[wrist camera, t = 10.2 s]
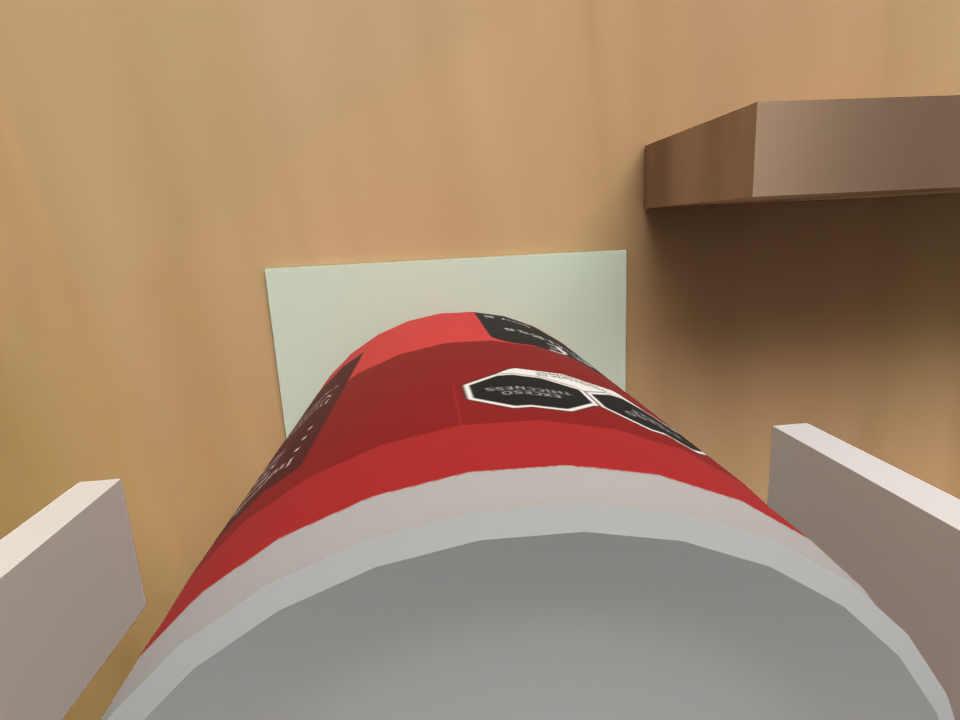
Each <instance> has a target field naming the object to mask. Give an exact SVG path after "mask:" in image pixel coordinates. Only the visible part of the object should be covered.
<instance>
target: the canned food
mask: <svg viewBox="0 0 960 720" xmlns="http://www.w3.org/2000/svg"><path fill="white" fill-rule="evenodd" d="M101 720H955V718H954V715H953V712H952V709H951V705H950V702H949V699H948V696H947V694H946V692H945V691H944V689H943V688H942V686H941V685H940V683H939V681H938V680H937V678H936V677H935V675H934V674H933V672H932V671H931V669H930V668H929V666H928V665H927V663H926V661H925V660H924V658H923V657H922V655H921V654H920V652H919V651H918V649H917V648H916V646H915V644H914V643H913V641H912V640H911V638H910V637H909V635H908V634H907V633H906V632H905V631H904V630H902V629H901V628H900V627H899V626H898V625H897V624H896V623H895V622H894V621H893V620H891V619H890V618H889V617H888V616H887V615H886V614H885V613H884V612H883V611H882V610H881V609H879V608H878V607H877V606H876V605H875V604H874V603H873V601H872V600H871V598H870V597H869V595H868V594H867V593H866V591H865V590H864V588H863V587H862V586H860V585H859V584H858V583H857V582H856V581H855V580H854V579H853V578H852V577H851V576H849V575H848V574H847V573H846V572H845V571H844V570H843V569H842V568H841V567H840V566H839V565H837V564H836V563H835V562H834V561H833V560H832V559H831V558H830V557H829V556H828V555H827V554H825V553H824V552H823V551H822V550H821V549H820V548H819V547H818V546H817V545H816V544H815V543H813V542H812V541H811V540H810V539H809V538H808V537H806V536H805V535H804V534H803V533H801V532H800V531H799V530H798V529H796V528H795V527H794V526H793V525H791V524H790V523H789V522H788V521H786V520H785V519H784V518H783V517H781V516H780V515H779V514H778V513H776V512H775V511H774V510H772V509H771V508H770V507H769V506H768V505H766V504H765V503H764V502H763V501H762V500H761V499H760V498H759V497H758V496H757V495H755V494H754V493H753V492H752V491H751V490H750V489H749V488H748V487H747V486H746V485H745V484H743V483H742V482H741V481H739V480H738V479H737V478H736V477H734V476H733V475H732V474H730V473H729V472H728V471H726V470H725V469H724V468H723V467H721V466H720V465H719V464H717V463H716V462H715V461H714V460H712V459H711V458H710V457H708V456H707V455H706V454H705V453H703V452H702V451H701V450H699V449H698V448H697V447H696V446H694V445H693V444H692V443H690V442H689V441H688V440H687V439H685V438H684V437H683V436H681V435H680V434H679V433H678V432H676V431H675V430H674V429H672V428H671V427H670V426H669V425H667V424H666V423H665V422H663V421H662V420H661V419H659V418H658V417H657V416H656V415H654V414H653V413H652V412H650V411H649V410H648V409H647V408H645V407H644V406H643V405H641V404H640V403H639V402H638V401H636V400H635V399H634V398H632V397H631V396H630V395H629V394H627V393H626V392H625V391H623V390H622V389H621V388H620V387H618V386H617V385H616V384H614V383H613V382H612V381H611V380H609V379H608V378H607V377H605V376H604V375H603V374H601V373H600V372H599V371H598V370H596V369H595V368H594V367H592V366H591V365H590V364H589V363H587V362H586V361H585V360H583V359H582V358H581V357H580V356H578V355H577V354H576V353H574V352H573V351H572V350H571V349H569V348H568V347H567V346H565V345H564V344H563V343H562V342H560V341H558V340H557V339H555V338H553V337H552V336H550V335H548V334H546V333H545V332H543V331H541V330H540V329H538V328H536V327H534V326H532V325H529V324H526V323H523V322H520V321H517V320H514V319H511V318H508V317H505V316H499V315H492V314H485V313H478V312H459V313H440V314H436V315H431V316H427V317H423V318H419V319H415V320H411V321H407V322H405V323H403V324H400V325H398V326H396V327H394V328H392V329H389V330H387V331H385V332H383V333H380V334H378V335H377V336H375V337H374V338H373V339H371V340H370V341H368V342H367V343H365V344H364V345H363V346H361V347H360V348H358V349H357V350H355V351H354V352H353V353H351V354H350V355H349V357H348V358H347V359H346V360H345V361H344V362H343V363H342V364H341V365H340V366H339V367H338V368H337V369H336V370H335V371H334V372H333V373H332V374H331V375H330V377H329V378H328V380H327V381H326V382H325V384H324V385H323V387H322V388H321V390H320V391H319V393H318V394H317V395H316V397H315V398H314V400H313V401H312V403H311V404H310V406H309V407H308V408H307V410H306V411H305V413H304V414H303V416H302V417H301V418H300V420H299V421H298V423H297V424H296V426H295V427H294V429H293V430H292V431H291V433H290V434H289V436H288V437H287V439H286V440H285V441H284V443H283V444H282V446H281V447H280V449H279V450H278V452H277V453H276V454H275V456H274V457H273V459H272V460H271V462H270V463H269V465H268V466H267V467H266V469H265V470H264V472H263V473H262V475H261V476H260V477H259V479H258V480H257V482H256V483H255V485H254V486H253V488H252V489H251V490H250V492H249V493H248V495H247V496H246V498H245V499H244V501H243V502H242V503H241V505H240V506H239V508H238V509H237V511H236V512H235V513H234V515H233V516H232V518H231V519H230V521H229V522H228V524H227V525H226V526H225V528H224V529H223V531H222V532H221V534H220V535H219V537H218V538H217V539H216V541H215V542H214V544H213V545H212V547H211V548H210V549H209V551H208V552H207V554H206V555H205V557H204V558H203V560H202V561H201V562H200V564H199V565H198V567H197V568H196V570H195V571H194V573H193V574H192V575H191V577H190V578H189V580H188V582H187V583H186V585H185V587H184V588H183V590H182V591H181V593H180V595H179V596H178V598H177V600H176V601H175V603H174V604H173V606H172V608H171V609H170V611H169V613H168V614H167V616H166V617H165V619H164V621H163V622H162V624H161V625H160V627H159V628H158V630H157V631H156V633H155V634H154V636H153V637H152V639H151V640H150V642H149V643H148V645H147V646H146V647H145V649H144V650H143V652H142V653H141V655H140V656H139V658H138V660H137V661H136V663H135V664H134V666H133V668H132V669H131V671H130V673H129V674H128V676H127V677H126V679H125V681H124V682H123V684H122V686H121V687H120V689H119V690H118V692H117V694H116V695H115V697H114V699H113V700H112V702H111V704H110V705H109V707H108V708H107V710H106V712H105V713H104V715H103V717H102V718H101Z"/></svg>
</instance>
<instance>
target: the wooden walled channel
mask: <svg viewBox="0 0 960 720" xmlns="http://www.w3.org/2000/svg"><path fill="white" fill-rule="evenodd" d="M957 193H960V95H953V96H924V97H894V98H864V99H834V100H804V101H774V102H756V103H754V104H751V105H749V106H746V107H744V108H741V109H738V110H736V111H733V112H731V113H728V114H726V115H723V116H721V117H718V118H715V119H713V120H710V121H708V122H705V123H703V124H700V125H698V126H695V127H692V128H690V129H687V130H685V131H682V132H680V133H677V134H675V135H672V136H669V137H667V138H664V139H662V140H659V141H657V142H654V143H652V144H649V145H646V146H645V203H644V208H664V207H685V206H706V205H726V204H747V203H768V202H789V201H810V200H831V199H852V198H873V197H894V196H915V195H936V194H957Z"/></svg>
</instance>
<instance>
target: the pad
mask: <svg viewBox="0 0 960 720" xmlns="http://www.w3.org/2000/svg"><path fill="white" fill-rule="evenodd" d="M265 276H266V283H267V291H268V299H269V307H270V314H271V322H272V330H273V338H274V346H275V353H276V361H277V369H278V377H279V385H280V392H281V400H282V408H283V416H284V423H285V431H286V439H287V437H288V436H289V434H290V433H291V431H292V430H293V429H294V427H295V426H296V424H297V423H298V421H299V420H300V418H301V417H302V416H303V414H304V413H305V411H306V410H307V408H308V407H309V406H310V404H311V403H312V401H313V400H314V398H315V397H316V395H317V394H318V393H319V391H320V390H321V388H322V387H323V385H324V384H325V382H326V381H327V380H328V378H329V377H330V375H331V374H332V373H333V372H334V371H335V370H336V369H337V368H338V367H339V366H340V365H341V364H342V363H343V362H344V361H345V360H346V359H347V358H348V357H349V355H350V354H351V353H353V352H354V351H355V350H357V349H358V348H360V347H361V346H363V345H364V344H365V343H367V342H368V341H370V340H371V339H373V338H374V337H375V336H377V335H378V334H380V333H383V332H385V331H387V330H389V329H392V328H394V327H396V326H398V325H400V324H403V323H405V322H407V321H411V320H415V319H419V318H423V317H427V316H431V315H436V314H440V313H459V312H478V313H485V314H492V315H499V316H505V317H508V318H511V319H514V320H517V321H520V322H523V323H526V324H529V325H532V326H534V327H536V328H538V329H540V330H541V331H543V332H545V333H546V334H548V335H550V336H552V337H553V338H555V339H557V340H558V341H560V342H562V343H563V344H564V345H565V346H567V347H568V348H569V349H571V350H572V351H573V352H574V353H576V354H577V355H578V356H580V357H581V358H582V359H583V360H585V361H586V362H587V363H589V364H590V365H591V366H592V367H594V368H595V369H596V370H598V371H599V372H600V373H601V374H603V375H604V376H605V377H607V378H608V379H609V380H611V381H612V382H613V383H614V384H616V385H617V386H618V387H620V388H621V389H622V390H623V391H625V390H626V250H607V251H588V252H569V253H550V254H531V255H513V256H494V257H475V258H456V259H438V260H419V261H400V262H381V263H362V264H344V265H325V266H306V267H287V268H269V269H265Z"/></svg>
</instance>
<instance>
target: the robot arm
mask: <svg viewBox="0 0 960 720" xmlns="http://www.w3.org/2000/svg"><path fill="white" fill-rule="evenodd" d="M767 505H768V506H769V507H770V508H771V509H772V510H774V511H775V512H776V513H778V514H779V515H780V516H781V517H783V518H784V519H785V520H786V521H788V522H789V523H790V524H791V525H793V526H794V527H795V528H796V529H798V530H799V531H800V532H801V533H803V534H804V535H805V536H806V537H808V538H809V539H810V540H811V541H812V542H813V543H815V544H816V545H817V546H818V547H819V548H820V549H821V550H822V551H823V552H824V553H825V554H827V555H828V556H829V557H830V558H831V559H832V560H833V561H834V562H835V563H836V564H837V565H839V566H840V567H841V568H842V569H843V570H844V571H845V572H846V573H847V574H848V575H849V576H851V577H852V578H853V579H854V580H855V581H856V582H857V583H858V584H859V585H860V586H862V587H863V588H864V590H865V591H866V593H867V594H868V595H869V597H870V598H871V600H872V601H873V603H874V604H875V605H876V606H877V607H878V608H879V609H881V610H882V611H883V612H884V613H885V614H886V615H887V616H888V617H889V618H890V619H891V620H893V621H894V622H895V623H896V624H897V625H898V626H899V627H900V628H901V629H902V630H904V631H905V632H906V633H907V634H908V635H909V637H910V638H911V640H912V641H913V643H914V644H915V646H916V648H917V649H918V651H919V652H920V654H921V655H922V657H923V658H924V660H925V661H926V663H927V665H928V666H929V668H930V669H931V671H932V672H933V674H934V675H935V677H936V678H937V680H938V681H939V683H940V685H941V686H942V688H943V689H944V691H945V692H946V694H947V696H948V699H949V702H950V705H951V709H952V712H953V715H954V718H955V719H956V720H960V500H959V499H957V498H955V497H953V496H951V495H949V494H948V493H946V492H944V491H942V490H940V489H938V488H936V487H934V486H932V485H930V484H928V483H926V482H924V481H922V480H920V479H918V478H916V477H914V476H912V475H910V474H908V473H906V472H904V471H902V470H900V469H898V468H896V467H894V466H892V465H890V464H888V463H886V462H884V461H882V460H880V459H878V458H876V457H874V456H872V455H870V454H868V453H866V452H864V451H862V450H860V449H858V448H856V447H854V446H852V445H850V444H848V443H846V442H844V441H842V440H840V439H838V438H836V437H834V436H832V435H830V434H828V433H826V432H824V431H822V430H820V429H818V428H816V427H814V426H812V425H810V424H808V423H801V424H789V425H777V426H773V429H772V444H771V458H770V473H769V488H768V502H767ZM145 606H146V601H145V596H144V591H143V586H142V581H141V576H140V571H139V566H138V561H137V556H136V551H135V546H134V541H133V536H132V531H131V526H130V521H129V516H128V511H127V506H126V501H125V496H124V491H123V486H122V481H121V479H111V480H99V481H87V482H79V483H77V484H76V485H75V486H73V487H72V488H70V489H69V490H68V491H66V492H65V493H64V494H62V495H61V496H60V497H58V498H57V499H55V500H54V501H53V502H51V503H50V504H49V505H47V506H46V507H45V508H43V509H42V510H40V511H39V512H38V513H36V514H35V515H34V516H32V517H31V518H30V519H28V520H27V521H26V522H24V523H23V524H21V525H20V526H19V527H17V528H16V529H15V530H13V531H12V532H11V533H9V534H8V535H6V536H5V537H4V538H2V539H1V540H0V720H62V719H63V718H64V716H65V715H66V714H67V712H68V711H69V710H70V708H71V707H72V706H73V704H74V703H75V702H76V700H77V699H78V697H79V696H80V695H81V693H82V692H83V691H84V689H85V688H86V687H87V685H88V684H89V682H90V681H91V680H92V678H93V677H94V676H95V674H96V673H97V672H98V670H99V669H100V668H101V666H102V665H103V663H104V662H105V661H106V659H107V658H108V657H109V655H110V654H111V653H112V651H113V650H114V649H115V647H116V646H117V644H118V643H119V642H120V640H121V639H122V638H123V636H124V635H125V634H126V632H127V631H128V629H129V628H130V627H131V625H132V624H133V623H134V621H135V620H136V619H137V617H138V616H139V615H140V613H141V612H142V610H143V609H144V608H145Z"/></svg>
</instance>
